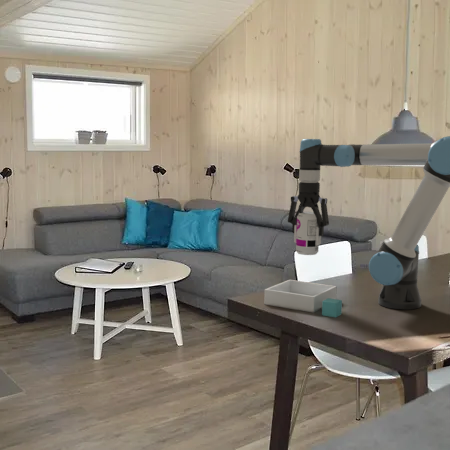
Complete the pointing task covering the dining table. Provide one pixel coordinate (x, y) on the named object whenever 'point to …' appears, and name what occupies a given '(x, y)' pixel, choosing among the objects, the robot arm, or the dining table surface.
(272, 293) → the tote
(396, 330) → the dining table surface
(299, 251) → the supplement can
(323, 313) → the cube
